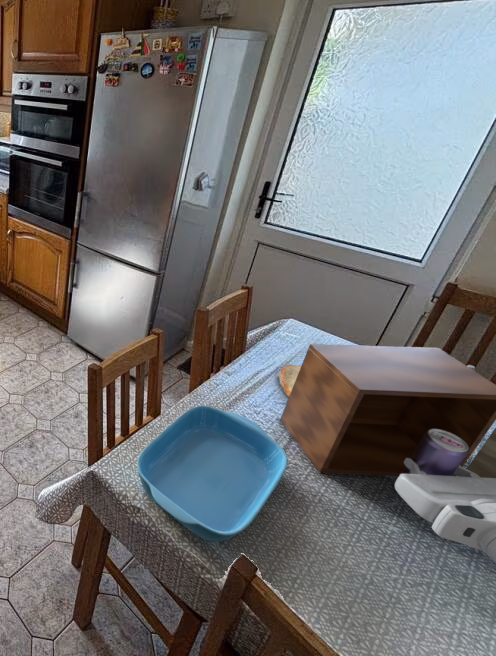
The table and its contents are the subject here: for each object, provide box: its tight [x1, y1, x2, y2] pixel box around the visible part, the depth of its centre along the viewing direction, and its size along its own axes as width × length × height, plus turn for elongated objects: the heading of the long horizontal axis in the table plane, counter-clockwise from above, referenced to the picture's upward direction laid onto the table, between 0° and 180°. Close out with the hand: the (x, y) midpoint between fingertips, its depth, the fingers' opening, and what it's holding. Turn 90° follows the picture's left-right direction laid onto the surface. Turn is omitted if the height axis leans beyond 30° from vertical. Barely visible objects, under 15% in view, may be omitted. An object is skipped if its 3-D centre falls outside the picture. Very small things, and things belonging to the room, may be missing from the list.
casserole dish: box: [136, 405, 289, 542], centre depth 91 cm, size 37×22×7 cm, turn 128°
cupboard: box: [279, 343, 496, 478], centre depth 95 cm, size 16×28×24 cm, turn 85°
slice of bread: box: [278, 363, 302, 398], centre depth 117 cm, size 18×18×4 cm
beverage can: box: [401, 429, 469, 476], centre depth 83 cm, size 6×6×15 cm
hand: (427, 461), depth 84 cm, fingers closed on beverage can, 6 cm apart
